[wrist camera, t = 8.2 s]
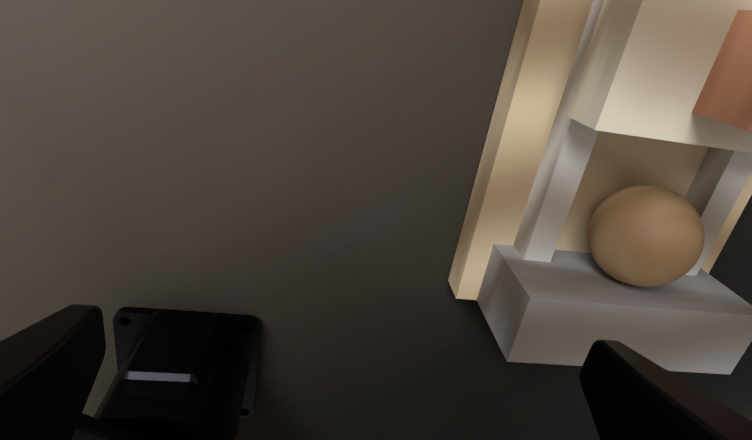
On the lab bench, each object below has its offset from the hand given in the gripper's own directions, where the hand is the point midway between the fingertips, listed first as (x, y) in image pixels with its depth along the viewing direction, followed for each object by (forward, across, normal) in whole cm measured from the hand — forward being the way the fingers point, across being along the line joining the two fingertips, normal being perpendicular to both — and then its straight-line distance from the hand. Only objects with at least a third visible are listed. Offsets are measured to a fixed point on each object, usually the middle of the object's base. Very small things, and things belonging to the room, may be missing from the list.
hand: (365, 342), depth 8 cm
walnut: (+10, -12, +1) cm, 16 cm away
